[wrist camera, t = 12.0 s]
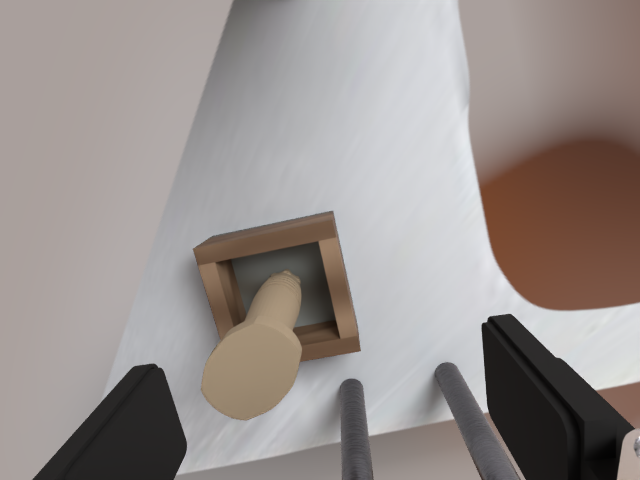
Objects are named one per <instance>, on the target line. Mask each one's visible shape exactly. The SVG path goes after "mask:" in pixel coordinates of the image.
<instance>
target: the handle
mask: <svg viewBox="0 0 640 480" xmlns="http://www.w3.org/2000/svg"><path fill="white" fill-rule="evenodd" d="M300 284H301V280H300V278H299V276H295V275H294V274H292V273H291V271H290V270H289V269H285V270H284V271H282V272H279V273H273V274H271V275H270V276H269V277H268V279H267V280H266V281H265V282H264V284H263V285H262V286H261V288H260V289H259V290H258V292H257V294H256V295H255V297H254V299H253V301H252V303H251V306H250V308H249V311H248V313H247V316H246V318H245V321H244V322H242V323H240V324H238V325H237V326H235V327H233V328H232V329H230V330H229V331H228V332H227V333H226V334H225V336H224V337H223V338H222V339H221V341H220V342H219V343H218V344H217V346H216V347H215V349H214V350H213V351H212V353H211V355H210V356H209V358H208V360H207V362H206V365H205V368H204V373H203V378H202V385H201V391H202V393H203V395H204V397H205V399H206V400H207V401H208V402H209V403H210V404H211V405H212V406H213V407H214V408H215V409H216V410H218V411H219V412H221V413H223V414H224V415H226V416H228V417H231V418H233V419H238V420H249V419H251V418H254V417H256V416H258V415H261V414H263V413H265V412H267V411H269V410H271V409H273V408H274V407H275V406H276V405H277V404H278V403H279V402H280V401H281V400H282V399H283V397H284V396H285V395H286V394H287V393H288V392H289V390H290V389H291V388H292V386H293V384H294V382H295V379H296V376H297V372H298V367H299V363H300V358H301V352H302V347H301V344H300V341H299V339H298V338H297V336H296V335H295V334H294V332H293V328H294V326H295V323H296V321H297V318H298V315H299V311H300V306H301V288H300Z"/></svg>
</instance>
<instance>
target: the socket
mask: <svg viewBox="0 0 640 480" xmlns="http://www.w3.org/2000/svg"><path fill="white" fill-rule="evenodd" d="M193 251H194V254H195V257H196V261H197V264H198V267H199V270H200V274H201V277H202V280H203V284H204V287H205V290H206V294H207V297H208V300H209V303H210V307H211V310H212V313H213V317H214V320H215V323H216V327H217V330H218V333H219V336H220V340H221V339H222V338H223V337H224V336H225V334H226V333H227V332H228V331H229V330H230V329H232V328H233V327H235V326H237V325H238V324H240V323H242V322H244V321H245V318H246V316H247V313H248V311H249V308H250V306H251V303H252V301H253V299H254V297H255V295H256V294H257V292H258V290H259V289H260V288H261V286H262V285H263V284H264V282H265V281H266V280H267V279H268V277H269V276H270V275H271V274H273V273H279V272H282V271H284V270H285V269H289V270H290V271H291V273H292V274H294V275H295V276H299V278H300V280H301V284H300V288H301V306H300V311H299V315H298V318H297V321H296V323H295V326H294V328H293V332H294V334H295V335H296V336H297V338H298V339H299V341H300V344H301V347H302V352H301V358H300V362H301V361H307V360H313V359H319V358H324V357H330V356H336V355H341V354H347V353H353V352H358V351H361V350H360V341H359V333H358V325H357V321H356V316H355V311H354V307H353V302H352V297H351V293H350V288H349V283H348V279H347V274H346V269H345V265H344V260H343V255H342V251H341V246H340V241H339V237H338V232H337V227H336V223H335V218H334V213H333V211H329V212H324V213H320V214H315V215H310V216H305V217H301V218H296V219H291V220H286V221H282V222H277V223H272V224H268V225H263V226H258V227H253V228H249V229H244V230H239V231H235V232H230V233H225V234H220V235H216V236H212V237H210V238H209V239H207V240H206V241H204V242H203V243H201V244H200V245H198V246H197V247H195V248H194V249H193Z"/></svg>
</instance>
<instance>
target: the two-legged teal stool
mask: <svg viewBox="0 0 640 480" xmlns="http://www.w3.org/2000/svg"><path fill="white" fill-rule="evenodd" d="M435 376H436V378H437V381H438V383H439V385H440V387H441V390H442V392H443V394H444V396H445V399H446V401H447V403H448V405H449V408H450V410H451V412H452V414H453V417H454V419H455V421H456V423H457V425H458V428H459V430H460V432H461V434H462V436H463V439H464V441H465V443H466V445H467V448H468V450H469V452H470V455H471V457H472V459H473V461H474V464H475V466H476V468H477V470H478V472H479V475H480V477H481V479H482V480H521V479H520V478H519V476H518V474H517V472H516V471H515V469H514V467H513V465H512V463H511V462H510V460H509V458H508V456H507V454H506V453H505V451H504V449H503V448H502V446H501V444H500V442H499V440H498V439H497V437H496V435H495V433H494V431H493V430H492V428H491V426H490V425H489V423H488V421H487V419H486V417H485V416H484V414H483V412H482V410H481V409H480V407H479V405H478V403H477V401H476V400H475V398H474V396H473V394H472V393H471V391H470V389H469V387H468V386H467V384H466V382H465V380H464V378H463V377H462V375H461V373H460V371H459V370H458V368H457V366H456V365H454V364H452V363H448V362H447V363H442V364H440V365H439V366H438V367H437V368H436V371H435ZM340 393H341V453H342V480H373V471H372V462H371V453H370V444H369V436H368V427H367V418H366V409H365V400H364V391H363V386H362V384H361V382H360V381H358V380H356V379H347V380H345V381H344V382H343V383H342V384H341V387H340Z"/></svg>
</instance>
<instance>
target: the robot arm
mask: <svg viewBox="0 0 640 480" xmlns="http://www.w3.org/2000/svg"><path fill="white" fill-rule="evenodd" d="M482 340H483V354H484V367H485V381H486V394H487V406H488V410H489V414H490V416H491V419H492V420H493V422H494V424H495V426H496V428H497V429H498V431H499V433H500V435H501V436H502V438H503V440H504V442H505V444H506V445H507V447H508V449H509V451H510V452H511V454H512V456H513V458H514V459H515V461H516V463H517V465H518V467H519V468H520V470H521V472H522V474H523V475H524V477H525V479H526V480H640V429H635V428H634V427H633V426H631V424H630V423H628V422H627V421H626V420H625V419H624V418H623V417H622V416H621V415H620V414H619V413H618V412H617V411H616V410H615V409H614V408H613V407H612V406H611V405H610V404H609V403H608V402H607V401H606V400H605V399H603V398H602V397H601V396H600V395H599V394H598V393H597V392H596V391H595V390H594V389H593V388H592V387H591V386H590V385H589V384H588V383H587V382H586V381H585V380H584V379H583V378H582V377H581V376H579V375H578V374H577V373H576V372H575V371H574V370H573V369H572V368H571V367H570V366H569V365H568V364H567V363H566V362H565V361H563V360H562V359H561V358H556V357H555V356H554V355H553V354H552V353H551V352H550V351H549V350H547V349H546V348H545V347H544V346H543V345H542V344H541V343H540V342H539V341H538V340H537V339H536V338H535V337H534V336H533V335H532V334H531V333H530V332H529V331H528V330H527V329H526V328H525V327H524V326H523V325H522V324H521V323H520V322H519V321H518V320H517V319H516V318H515V317H514V316H513V315H511V314H505V315H498V316H491V317H489V318H488V321H487V322H486V323H482ZM186 450H187V442H186V438H185V435H184V432H183V429H182V426H181V423H180V420H179V417H178V414H177V411H176V407H175V404H174V401H173V398H172V395H171V392H170V389H169V386H168V383H167V380H166V377H165V373H164V371H163V369H162V368H158V366H157V365H156V364H147V365H139V366H134V367H133V368H131V370H130V371H129V372H128V373H127V374H126V375H125V376H124V377H123V379H122V380H121V381H120V382H119V383H118V384H117V385H116V386H115V388H114V389H113V390H112V391H111V392H110V393H109V394H108V395H107V397H106V398H105V399H104V400H103V401H102V402H101V403H100V404H99V405H98V407H97V408H96V409H95V410H94V411H93V412H92V413H91V414H90V416H89V417H88V418H87V419H86V420H85V421H84V422H83V423H82V425H81V426H80V427H79V428H78V429H77V430H76V431H75V432H74V434H73V435H72V436H71V437H70V438H69V439H68V440H67V441H66V443H65V444H64V445H63V446H62V447H61V448H60V449H59V450H58V452H57V453H56V454H55V455H54V456H53V457H52V458H51V459H50V460H49V462H48V463H47V464H46V465H45V466H44V467H43V468H42V469H41V471H40V472H39V473H38V474H37V475H36V476H35V477H34V478H33V480H174V478H175V475H176V473H177V471H178V469H179V467H180V465H181V463H182V461H183V459H184V456H185V454H186Z"/></svg>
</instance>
